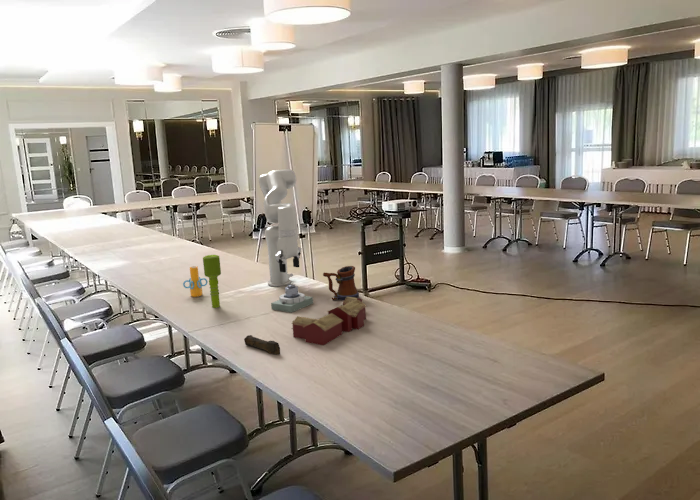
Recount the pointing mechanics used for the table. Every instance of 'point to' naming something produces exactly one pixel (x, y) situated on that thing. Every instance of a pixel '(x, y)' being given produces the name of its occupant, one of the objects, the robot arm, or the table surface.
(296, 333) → the toy houses
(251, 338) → the brown elongated bar
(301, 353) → the table surface
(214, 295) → the microphone
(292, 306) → the block
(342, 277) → the mug
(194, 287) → the cylinder
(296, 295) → the hub
